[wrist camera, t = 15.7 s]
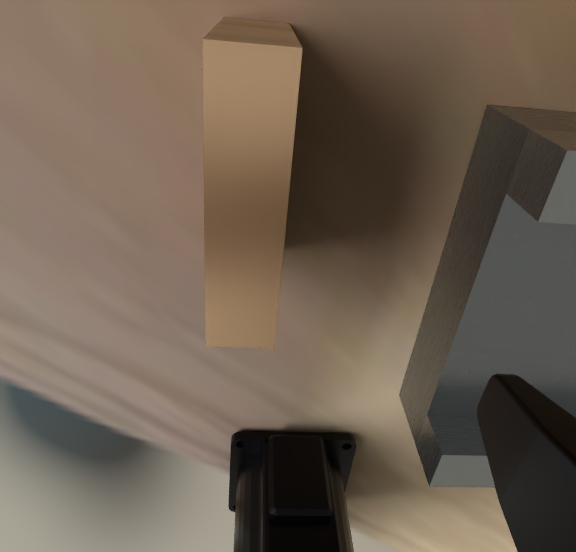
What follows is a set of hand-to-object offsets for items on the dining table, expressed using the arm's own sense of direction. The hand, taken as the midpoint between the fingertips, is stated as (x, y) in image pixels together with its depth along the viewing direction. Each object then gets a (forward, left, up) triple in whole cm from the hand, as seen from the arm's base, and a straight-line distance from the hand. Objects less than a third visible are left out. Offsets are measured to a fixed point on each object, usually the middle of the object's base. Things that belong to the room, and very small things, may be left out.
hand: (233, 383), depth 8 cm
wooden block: (+1, 0, -11) cm, 11 cm away
